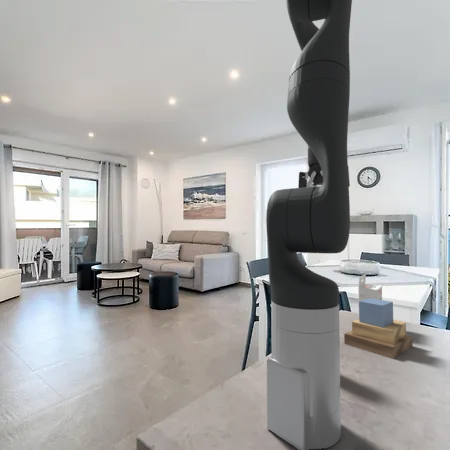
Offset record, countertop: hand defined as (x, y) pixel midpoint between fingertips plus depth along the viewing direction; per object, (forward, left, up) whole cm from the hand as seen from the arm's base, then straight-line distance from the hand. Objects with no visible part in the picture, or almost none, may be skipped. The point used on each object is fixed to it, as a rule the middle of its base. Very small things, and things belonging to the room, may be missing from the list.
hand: (322, 206), depth 80 cm
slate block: (+2, -13, -29) cm, 31 cm away
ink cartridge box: (+14, -6, -34) cm, 38 cm away
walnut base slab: (+3, -13, -35) cm, 37 cm away
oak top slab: (+3, -13, -32) cm, 34 cm away
